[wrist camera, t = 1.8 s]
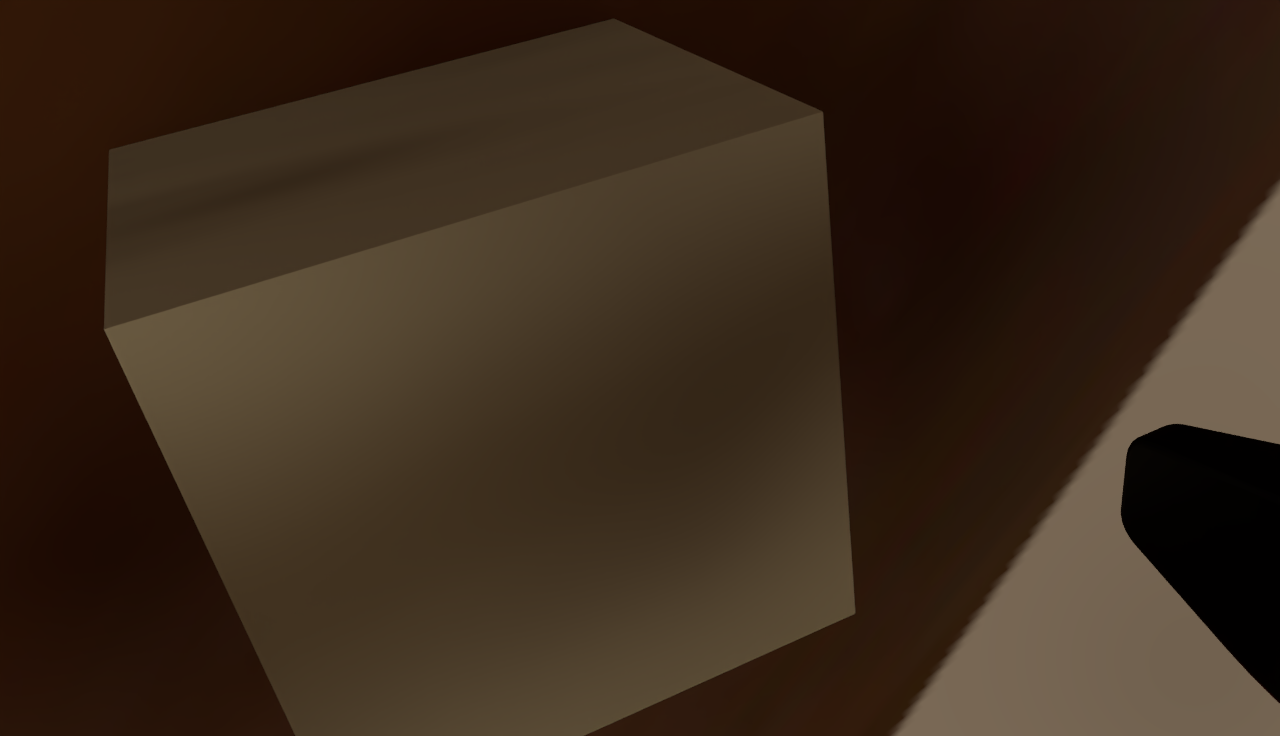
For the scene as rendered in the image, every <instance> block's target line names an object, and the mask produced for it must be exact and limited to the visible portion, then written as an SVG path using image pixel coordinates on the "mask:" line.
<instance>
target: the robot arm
mask: <svg viewBox="0 0 1280 736" xmlns="http://www.w3.org/2000/svg"><path fill="white" fill-rule="evenodd" d="M1121 517H1122V522H1123V525H1124V528H1125V530H1126V532H1127V534H1128V535H1129V537H1130V539H1131V540H1132V541H1133V543H1134V544H1135V545H1136V546H1137V547H1138V548H1139V550H1141V552H1142V553H1143V554H1144V555H1145V556H1146V557H1147V559H1148V560H1149V561H1150V562H1151V563H1152V564H1153V565H1154V566H1155V568H1156V569H1157V570H1158V571H1159V572H1160V573H1161V575H1162V576H1163V577H1164V578H1165V579H1166V580H1167V581H1168V583H1169V584H1170V585H1171V586H1172V587H1173V588H1174V589H1175V590H1176V592H1177V593H1178V594H1179V595H1180V596H1181V597H1182V598H1183V600H1184V601H1185V602H1186V603H1187V604H1188V605H1189V606H1190V607H1191V609H1192V610H1193V611H1194V612H1195V613H1196V614H1197V616H1198V617H1199V618H1200V619H1201V620H1202V621H1203V622H1204V623H1205V624H1206V626H1207V627H1208V628H1209V629H1210V630H1211V631H1212V633H1213V634H1214V635H1215V636H1216V637H1217V638H1218V639H1219V641H1220V642H1221V643H1222V644H1223V645H1224V646H1225V647H1226V649H1227V650H1228V651H1229V652H1230V653H1231V654H1232V655H1233V656H1234V657H1235V658H1236V660H1237V661H1238V662H1239V663H1240V664H1241V665H1242V666H1243V667H1244V668H1245V669H1246V670H1247V671H1248V673H1250V675H1251V676H1252V677H1253V678H1254V679H1255V680H1256V681H1257V682H1258V683H1259V684H1260V685H1261V686H1262V687H1263V688H1264V689H1265V690H1266V691H1267V692H1268V693H1270V695H1271V696H1272V697H1274V698H1275V699H1276V700H1277V701H1278V702H1279V703H1280V444H1275V443H1270V442H1266V441H1261V440H1256V439H1251V438H1246V437H1241V436H1236V435H1231V434H1226V433H1222V432H1217V431H1212V430H1208V429H1203V428H1198V427H1193V426H1188V425H1183V424H1171V425H1166V426H1164V427H1161V428H1159V429H1157V430H1154V431H1152V432H1150V433H1148V434H1145V435H1143V436H1141V437H1138V438H1137V439H1135V440H1134V441H1133V442H1132V443H1131V445H1130V447H1129V448H1128V452H1127V456H1126V466H1125V476H1124V485H1123V495H1122V505H1121Z"/></svg>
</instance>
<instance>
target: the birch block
mask: <svg viewBox="0 0 1280 736" xmlns="http://www.w3.org/2000/svg"><path fill="white" fill-rule="evenodd" d="M104 331H105V333H106V335H107V337H108V339H109V341H110V343H111V345H112V348H113V350H114V352H115V354H116V356H117V358H118V360H119V362H120V365H121V367H122V369H123V371H124V373H125V375H126V377H127V379H128V381H129V384H130V386H131V388H132V390H133V392H134V394H135V396H136V398H137V401H138V403H139V405H140V407H141V409H142V411H143V413H144V415H145V418H146V420H147V422H148V424H149V426H150V428H151V430H152V432H153V435H154V437H155V439H156V441H157V443H158V445H159V447H160V449H161V452H162V454H163V456H164V458H165V460H166V462H167V464H168V466H169V469H170V471H171V473H172V475H173V477H174V479H175V481H176V483H177V485H178V488H179V490H180V492H181V494H182V496H183V498H184V500H185V502H186V505H187V507H188V509H189V511H190V513H191V515H192V517H193V519H194V522H195V524H196V526H197V528H198V530H199V532H200V534H201V536H202V539H203V541H204V543H205V545H206V547H207V549H208V551H209V553H210V556H211V558H212V560H213V562H214V564H215V566H216V568H217V570H218V572H219V575H220V577H221V579H222V581H223V583H224V585H225V587H226V589H227V592H228V594H229V596H230V598H231V600H232V602H233V604H234V606H235V609H236V611H237V613H238V615H239V617H240V619H241V621H242V623H243V626H244V628H245V630H246V632H247V634H248V636H249V638H250V640H251V643H252V645H253V647H254V649H255V651H256V653H257V655H258V657H259V660H260V662H261V664H262V666H263V668H264V670H265V672H266V674H267V676H268V679H269V681H270V683H271V685H272V687H273V689H274V691H275V693H276V696H277V698H278V700H279V702H280V704H281V706H282V708H283V710H284V713H285V715H286V717H287V719H288V721H289V723H290V725H291V727H292V730H293V732H294V734H295V736H584V735H587V734H589V733H591V732H593V731H595V730H598V729H600V728H602V727H604V726H607V725H609V724H611V723H613V722H615V721H618V720H620V719H622V718H624V717H627V716H629V715H631V714H633V713H635V712H638V711H640V710H642V709H644V708H647V707H649V706H651V705H653V704H655V703H658V702H660V701H662V700H664V699H667V698H669V697H671V696H673V695H675V694H678V693H680V692H682V691H684V690H687V689H689V688H691V687H693V686H695V685H698V684H700V683H702V682H704V681H707V680H709V679H711V678H713V677H715V676H718V675H720V674H722V673H724V672H726V671H729V670H731V669H733V668H735V667H738V666H740V665H742V664H744V663H746V662H749V661H751V660H753V659H755V658H758V657H760V656H762V655H764V654H766V653H769V652H771V651H773V650H775V649H778V648H780V647H782V646H784V645H786V644H789V643H791V642H793V641H795V640H798V639H800V638H802V637H804V636H806V635H809V634H811V633H813V632H815V631H818V630H820V629H822V628H824V627H826V626H829V625H831V624H833V623H835V622H838V621H840V620H842V619H844V618H846V617H849V616H851V615H853V614H855V601H854V585H853V570H852V554H851V539H850V523H849V508H848V492H847V477H846V461H845V446H844V430H843V415H842V399H841V384H840V368H839V353H838V337H837V322H836V307H835V291H834V276H833V260H832V245H831V229H830V214H829V198H828V183H827V167H826V152H825V136H824V121H823V111H820V110H818V109H816V108H814V107H811V106H809V105H807V104H805V103H802V102H800V101H798V100H796V99H793V98H791V97H789V96H787V95H784V94H782V93H780V92H778V91H775V90H773V89H771V88H769V87H767V86H764V85H762V84H760V83H758V82H755V81H753V80H751V79H749V78H746V77H744V76H742V75H740V74H737V73H735V72H733V71H731V70H728V69H726V68H724V67H722V66H719V65H717V64H715V63H713V62H710V61H708V60H706V59H704V58H701V57H699V56H697V55H695V54H692V53H690V52H688V51H686V50H684V49H681V48H679V47H677V46H675V45H672V44H670V43H668V42H666V41H663V40H661V39H659V38H657V37H654V36H652V35H650V34H648V33H645V32H643V31H641V30H639V29H636V28H634V27H632V26H630V25H627V24H625V23H623V22H621V21H618V20H616V19H610V20H606V21H602V22H598V23H594V24H591V25H587V26H583V27H579V28H575V29H571V30H568V31H564V32H560V33H556V34H552V35H548V36H544V37H541V38H537V39H533V40H529V41H525V42H521V43H518V44H514V45H510V46H506V47H502V48H498V49H495V50H491V51H487V52H483V53H479V54H475V55H471V56H468V57H464V58H460V59H456V60H452V61H448V62H445V63H441V64H437V65H433V66H429V67H425V68H421V69H418V70H414V71H410V72H406V73H402V74H398V75H395V76H391V77H387V78H383V79H379V80H375V81H372V82H368V83H364V84H360V85H356V86H352V87H348V88H345V89H341V90H337V91H333V92H329V93H325V94H322V95H318V96H314V97H310V98H306V99H302V100H299V101H295V102H291V103H287V104H283V105H279V106H275V107H272V108H268V109H264V110H260V111H256V112H252V113H249V114H245V115H241V116H237V117H233V118H229V119H226V120H222V121H218V122H214V123H210V124H206V125H202V126H199V127H195V128H191V129H187V130H183V131H179V132H176V133H172V134H168V135H164V136H160V137H156V138H153V139H149V140H145V141H141V142H137V143H133V144H129V145H126V146H122V147H118V148H114V149H110V150H109V172H108V207H107V241H106V276H105V310H104Z"/></svg>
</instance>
